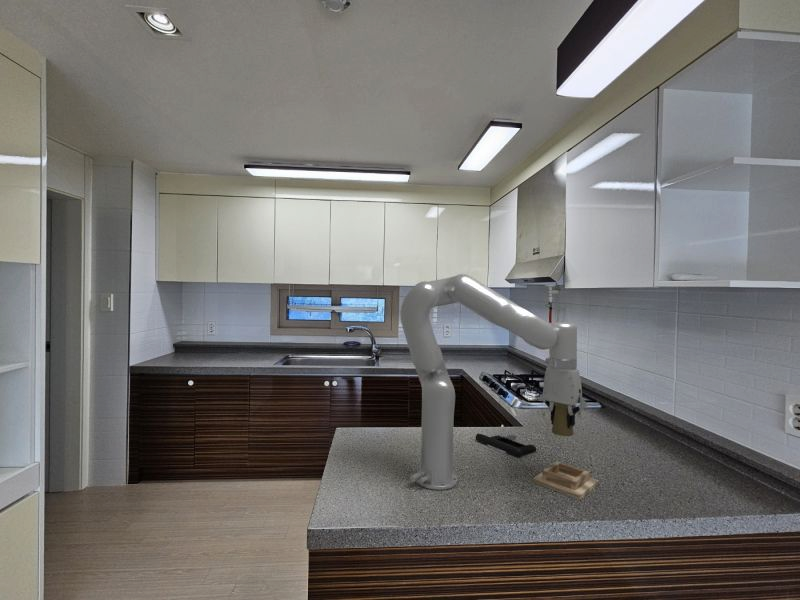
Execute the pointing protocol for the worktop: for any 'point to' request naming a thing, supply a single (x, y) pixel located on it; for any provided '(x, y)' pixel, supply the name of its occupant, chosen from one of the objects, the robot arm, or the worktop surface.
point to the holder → (566, 480)
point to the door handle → (506, 444)
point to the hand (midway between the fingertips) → (562, 424)
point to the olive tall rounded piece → (561, 421)
